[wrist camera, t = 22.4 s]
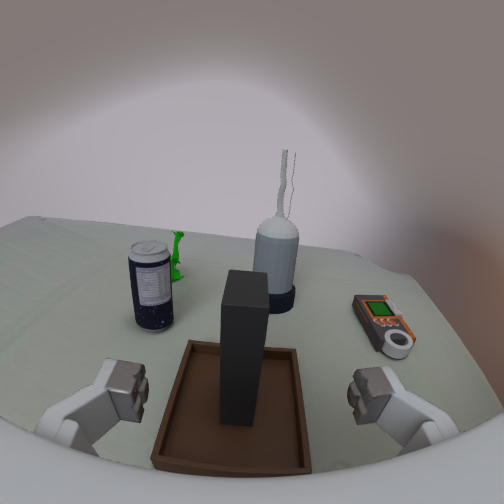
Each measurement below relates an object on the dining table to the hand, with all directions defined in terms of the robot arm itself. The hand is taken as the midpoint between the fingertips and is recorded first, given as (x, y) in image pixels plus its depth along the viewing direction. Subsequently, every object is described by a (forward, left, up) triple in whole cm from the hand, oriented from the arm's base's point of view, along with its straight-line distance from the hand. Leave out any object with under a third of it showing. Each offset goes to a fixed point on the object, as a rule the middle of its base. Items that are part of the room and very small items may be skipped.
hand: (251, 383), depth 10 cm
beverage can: (+25, +14, -17) cm, 33 cm away
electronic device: (+27, -21, -17) cm, 39 cm away
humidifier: (+35, -3, -17) cm, 39 cm away
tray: (+11, +1, -17) cm, 20 cm away
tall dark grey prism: (+12, +1, -16) cm, 20 cm away
